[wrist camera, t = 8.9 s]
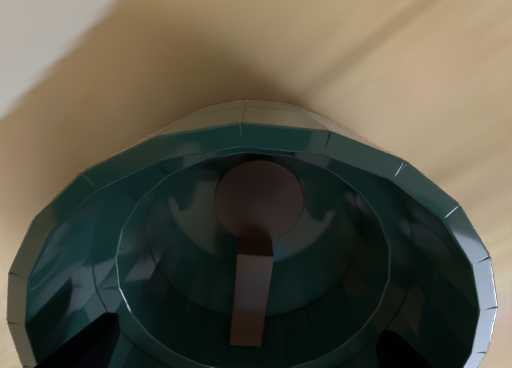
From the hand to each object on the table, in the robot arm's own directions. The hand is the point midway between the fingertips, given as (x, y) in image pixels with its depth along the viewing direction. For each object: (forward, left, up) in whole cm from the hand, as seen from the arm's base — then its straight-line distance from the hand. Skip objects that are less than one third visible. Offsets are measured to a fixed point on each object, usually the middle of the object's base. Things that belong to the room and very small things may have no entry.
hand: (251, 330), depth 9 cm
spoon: (0, 0, -4) cm, 4 cm away
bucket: (0, 0, -5) cm, 5 cm away
